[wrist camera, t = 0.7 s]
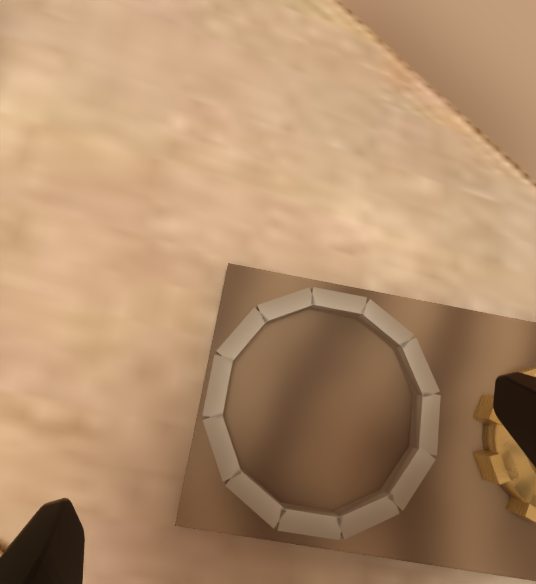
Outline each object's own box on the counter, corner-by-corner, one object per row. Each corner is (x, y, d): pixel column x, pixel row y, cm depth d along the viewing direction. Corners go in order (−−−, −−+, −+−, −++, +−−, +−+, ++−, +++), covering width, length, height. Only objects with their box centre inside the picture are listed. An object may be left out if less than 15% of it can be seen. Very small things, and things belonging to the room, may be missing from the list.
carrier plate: (625, 344, 27) (660, 340, 25) (638, 591, 23) (680, 610, 21) (228, 268, 25) (228, 256, 23) (177, 519, 22) (172, 533, 20)
